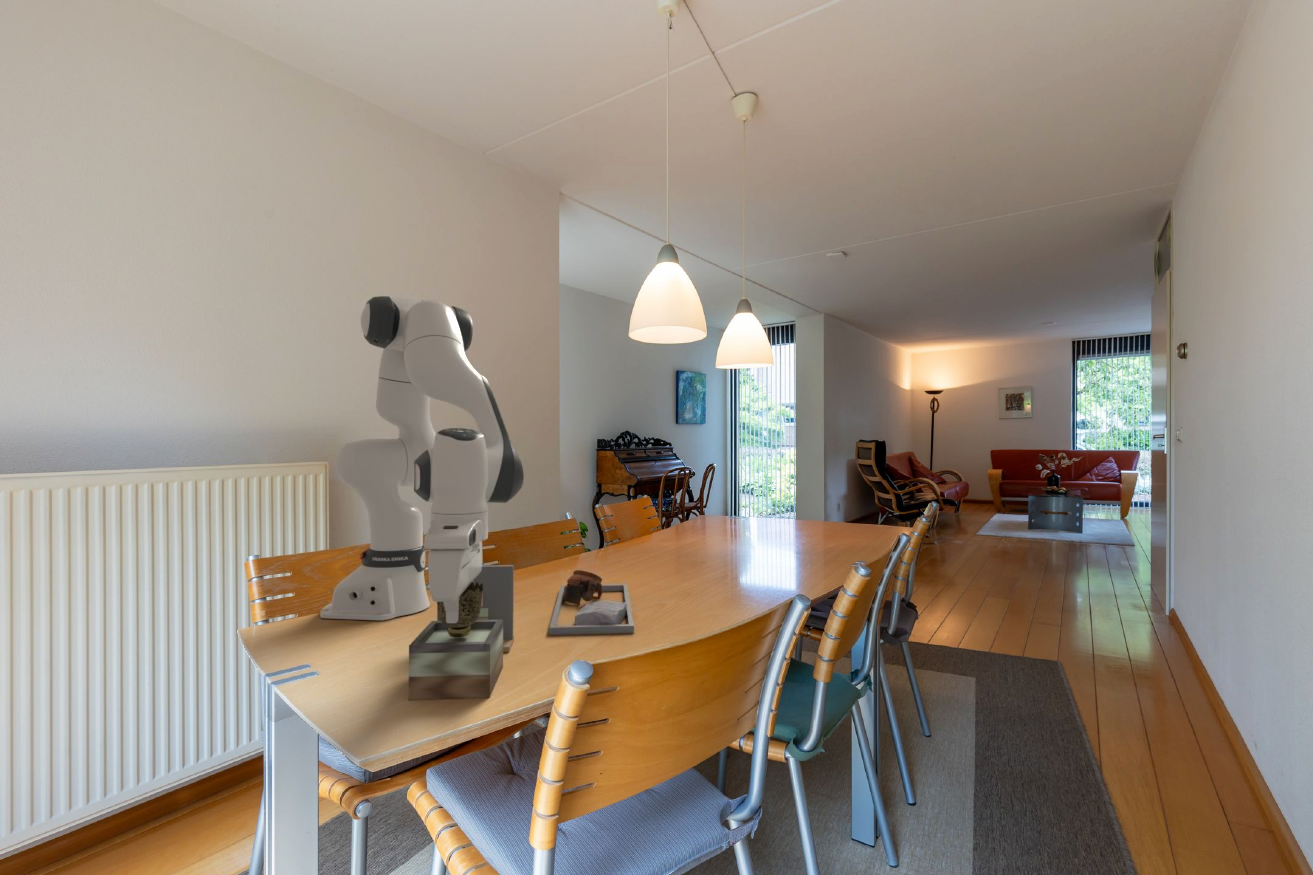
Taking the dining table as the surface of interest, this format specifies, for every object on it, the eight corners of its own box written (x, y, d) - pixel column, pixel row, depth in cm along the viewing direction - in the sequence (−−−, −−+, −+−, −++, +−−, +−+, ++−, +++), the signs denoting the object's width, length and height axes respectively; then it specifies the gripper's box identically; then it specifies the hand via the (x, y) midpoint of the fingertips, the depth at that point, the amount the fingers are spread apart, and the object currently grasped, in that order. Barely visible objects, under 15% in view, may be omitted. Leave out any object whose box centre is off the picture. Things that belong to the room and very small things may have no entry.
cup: (449, 626, 101) (449, 579, 101) (490, 628, 100) (491, 581, 100) (426, 641, 93) (426, 590, 93) (470, 644, 92) (471, 592, 92)
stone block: (572, 639, 123) (619, 631, 122) (568, 615, 123) (615, 608, 122) (587, 623, 135) (630, 616, 133) (584, 602, 135) (626, 595, 134)
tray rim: (549, 635, 119) (549, 627, 119) (560, 591, 153) (561, 585, 153) (634, 633, 121) (634, 625, 121) (627, 589, 155) (627, 584, 155)
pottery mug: (553, 601, 146) (564, 569, 149) (586, 613, 150) (596, 582, 153) (574, 599, 136) (585, 565, 140) (609, 613, 140) (619, 579, 144)
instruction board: (431, 654, 109) (431, 572, 108) (440, 642, 114) (440, 564, 114) (509, 652, 110) (509, 570, 110) (514, 641, 116) (514, 563, 116)
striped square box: (408, 699, 90) (408, 645, 90) (431, 668, 102) (431, 620, 102) (489, 697, 91) (490, 643, 91) (502, 666, 103) (503, 619, 103)
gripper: (455, 519, 106) (454, 596, 106) (420, 540, 86) (420, 635, 86) (491, 519, 107) (490, 596, 107) (465, 539, 87) (464, 634, 87)
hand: (459, 614), depth 96 cm, fingers closed on cup, 6 cm apart
